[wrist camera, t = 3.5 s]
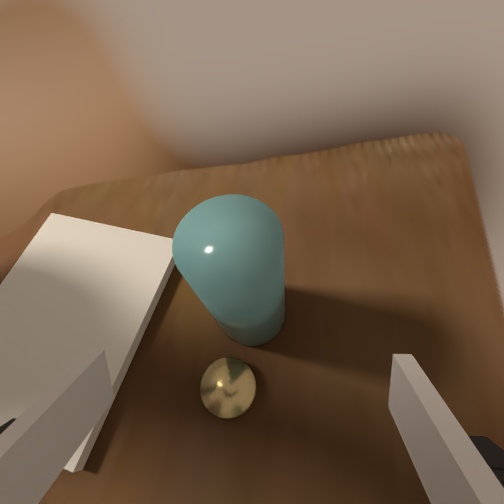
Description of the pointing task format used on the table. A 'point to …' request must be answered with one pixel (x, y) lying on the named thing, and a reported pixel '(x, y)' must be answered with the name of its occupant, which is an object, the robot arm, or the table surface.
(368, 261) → the table surface
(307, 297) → the table surface
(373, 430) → the table surface
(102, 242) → the pale board
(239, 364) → the beige mottled disc
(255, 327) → the teal canister
